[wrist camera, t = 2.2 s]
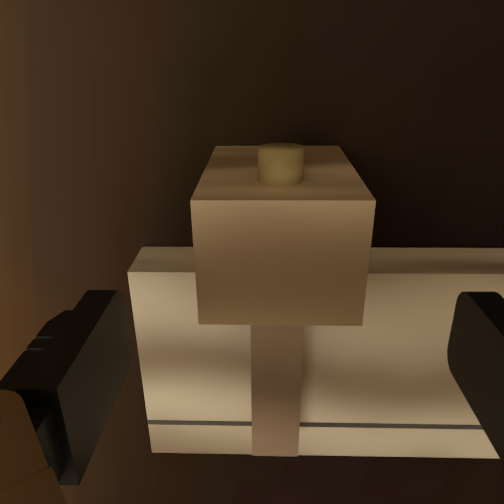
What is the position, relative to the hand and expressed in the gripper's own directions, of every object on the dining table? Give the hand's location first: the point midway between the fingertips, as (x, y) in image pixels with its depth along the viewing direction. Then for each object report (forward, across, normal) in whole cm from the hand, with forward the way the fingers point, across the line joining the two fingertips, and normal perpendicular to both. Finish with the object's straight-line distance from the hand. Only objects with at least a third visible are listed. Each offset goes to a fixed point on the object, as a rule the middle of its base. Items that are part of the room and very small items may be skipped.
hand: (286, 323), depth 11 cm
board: (+10, -8, +7) cm, 14 cm away
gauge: (+9, 0, +3) cm, 10 cm away
